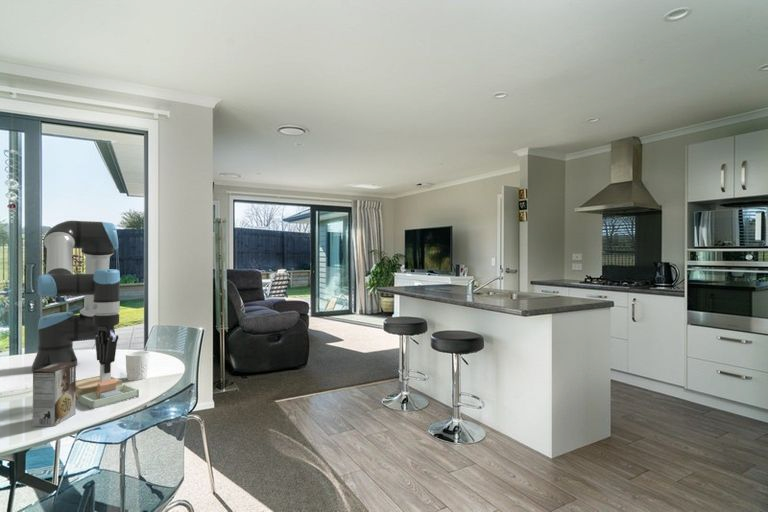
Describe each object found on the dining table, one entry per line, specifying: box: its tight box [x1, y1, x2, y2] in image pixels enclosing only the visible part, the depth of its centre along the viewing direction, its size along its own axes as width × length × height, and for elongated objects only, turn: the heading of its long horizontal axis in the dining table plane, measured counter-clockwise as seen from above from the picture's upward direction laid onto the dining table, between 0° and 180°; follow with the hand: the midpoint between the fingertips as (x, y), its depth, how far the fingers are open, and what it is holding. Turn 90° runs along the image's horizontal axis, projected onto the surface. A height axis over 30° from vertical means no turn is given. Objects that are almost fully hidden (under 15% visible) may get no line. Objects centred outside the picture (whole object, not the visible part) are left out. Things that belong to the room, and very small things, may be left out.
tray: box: [78, 383, 140, 410], centre depth 137 cm, size 10×14×2 cm
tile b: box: [100, 390, 123, 399], centre depth 137 cm, size 5×5×2 cm
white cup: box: [125, 350, 150, 382], centre depth 161 cm, size 8×8×10 cm
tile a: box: [96, 379, 117, 399], centre depth 139 cm, size 5×5×2 cm
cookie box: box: [31, 363, 77, 427], centre depth 120 cm, size 9×6×16 cm
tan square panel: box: [76, 375, 123, 401], centre depth 144 cm, size 13×12×4 cm
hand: (105, 381), depth 139 cm, fingers closed
